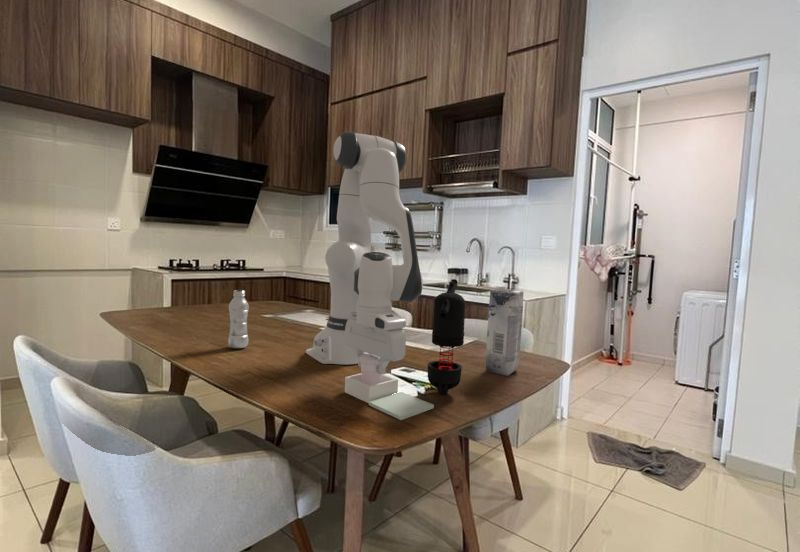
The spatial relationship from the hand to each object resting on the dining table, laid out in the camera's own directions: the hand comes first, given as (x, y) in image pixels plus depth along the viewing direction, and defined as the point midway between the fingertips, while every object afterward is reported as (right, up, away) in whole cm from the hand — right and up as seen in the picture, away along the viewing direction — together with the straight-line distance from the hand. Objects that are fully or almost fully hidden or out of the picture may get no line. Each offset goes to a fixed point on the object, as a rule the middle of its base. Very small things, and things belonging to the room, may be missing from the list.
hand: (371, 369), depth 108 cm
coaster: (+8, -7, -7) cm, 13 cm away
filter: (+18, -7, +2) cm, 20 cm away
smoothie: (0, -6, +1) cm, 6 cm away
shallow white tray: (0, -6, +1) cm, 6 cm away
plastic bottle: (-49, -1, +38) cm, 62 cm away
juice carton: (+40, -6, +26) cm, 48 cm away
